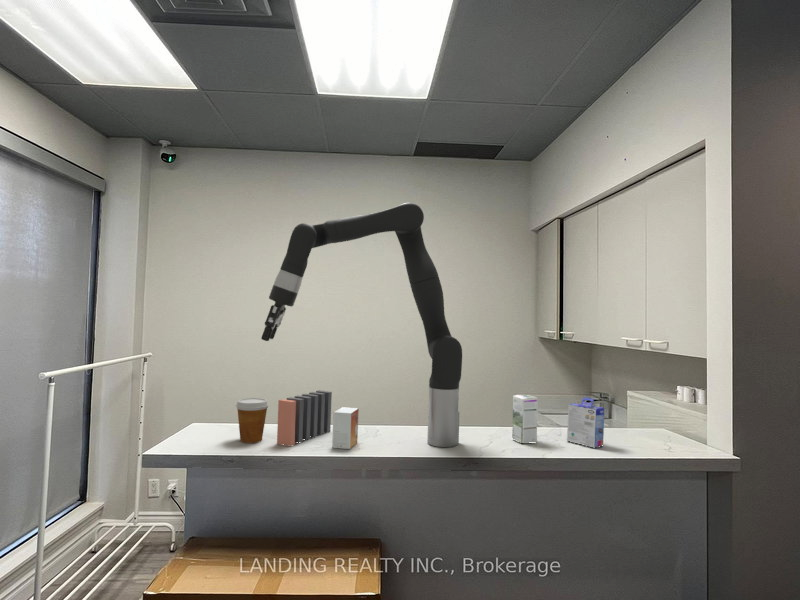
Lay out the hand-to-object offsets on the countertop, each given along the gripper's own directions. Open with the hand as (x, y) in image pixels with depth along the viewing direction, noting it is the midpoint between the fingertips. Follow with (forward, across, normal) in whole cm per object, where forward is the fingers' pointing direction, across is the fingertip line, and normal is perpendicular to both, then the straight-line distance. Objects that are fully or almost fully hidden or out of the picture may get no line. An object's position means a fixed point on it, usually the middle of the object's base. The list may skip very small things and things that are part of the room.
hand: (267, 339), depth 146 cm
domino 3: (+26, +5, -20) cm, 33 cm away
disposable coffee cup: (+31, +3, -6) cm, 31 cm away
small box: (+22, -2, -32) cm, 39 cm away
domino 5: (+25, +12, -23) cm, 36 cm away
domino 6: (+24, +15, -25) cm, 38 cm away
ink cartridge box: (-1, +1, -104) cm, 104 cm away
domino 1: (+27, -1, -16) cm, 32 cm away
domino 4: (+26, +8, -21) cm, 34 cm away
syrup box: (+5, +3, -86) cm, 86 cm away
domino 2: (+27, +2, -18) cm, 32 cm away
